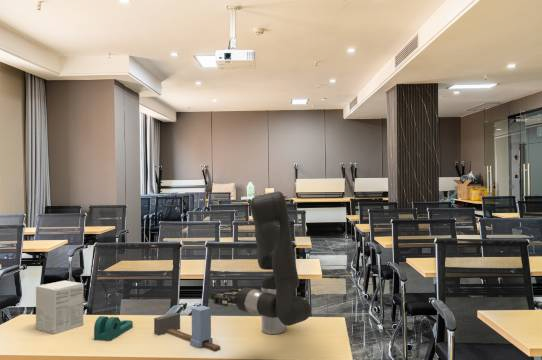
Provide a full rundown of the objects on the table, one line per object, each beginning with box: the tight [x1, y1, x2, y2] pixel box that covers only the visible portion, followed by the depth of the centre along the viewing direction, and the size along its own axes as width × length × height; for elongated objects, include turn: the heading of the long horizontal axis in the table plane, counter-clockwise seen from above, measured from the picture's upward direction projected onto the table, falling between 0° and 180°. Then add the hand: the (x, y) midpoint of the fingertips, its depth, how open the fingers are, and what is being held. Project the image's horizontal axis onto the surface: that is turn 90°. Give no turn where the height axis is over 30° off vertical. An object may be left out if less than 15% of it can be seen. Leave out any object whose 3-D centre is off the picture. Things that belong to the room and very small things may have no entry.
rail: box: [166, 328, 221, 352], centre depth 153 cm, size 2×29×1 cm, turn 48°
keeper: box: [189, 305, 214, 349], centre depth 150 cm, size 6×5×13 cm
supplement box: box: [35, 279, 84, 335], centre depth 171 cm, size 13×13×18 cm
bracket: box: [93, 315, 134, 342], centre depth 163 cm, size 18×7×8 cm, turn 168°
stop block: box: [153, 312, 181, 336], centre depth 164 cm, size 10×3×6 cm, turn 138°
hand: (220, 293), depth 143 cm, fingers open, 8 cm apart
